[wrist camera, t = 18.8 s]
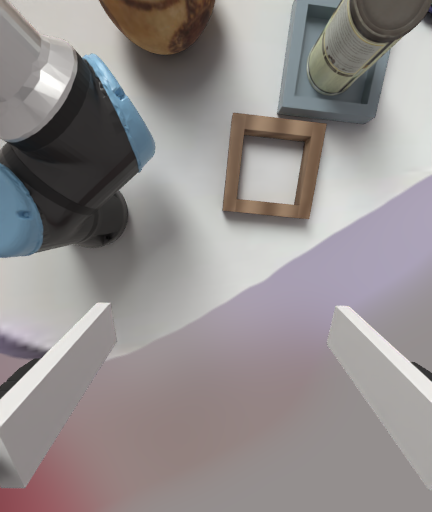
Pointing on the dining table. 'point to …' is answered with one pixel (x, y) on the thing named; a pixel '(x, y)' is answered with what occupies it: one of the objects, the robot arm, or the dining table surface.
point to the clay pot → (160, 22)
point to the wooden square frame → (280, 130)
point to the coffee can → (359, 40)
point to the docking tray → (296, 80)
